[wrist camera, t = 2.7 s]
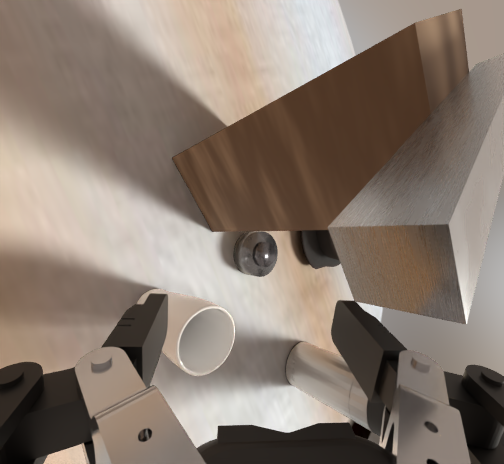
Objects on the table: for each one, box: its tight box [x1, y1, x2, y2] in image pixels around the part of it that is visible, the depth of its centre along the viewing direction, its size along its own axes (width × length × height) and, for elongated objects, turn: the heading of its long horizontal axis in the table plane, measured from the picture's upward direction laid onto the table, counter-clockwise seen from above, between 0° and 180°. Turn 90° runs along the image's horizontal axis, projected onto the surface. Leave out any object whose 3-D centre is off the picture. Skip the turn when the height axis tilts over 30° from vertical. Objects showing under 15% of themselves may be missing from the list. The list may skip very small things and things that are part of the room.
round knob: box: [234, 232, 277, 277], centre depth 46 cm, size 8×8×4 cm
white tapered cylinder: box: [137, 289, 235, 376], centre depth 31 cm, size 7×7×15 cm
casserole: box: [301, 230, 341, 269], centre depth 61 cm, size 25×19×8 cm
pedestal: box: [172, 9, 469, 232], centre depth 32 cm, size 13×13×32 cm
